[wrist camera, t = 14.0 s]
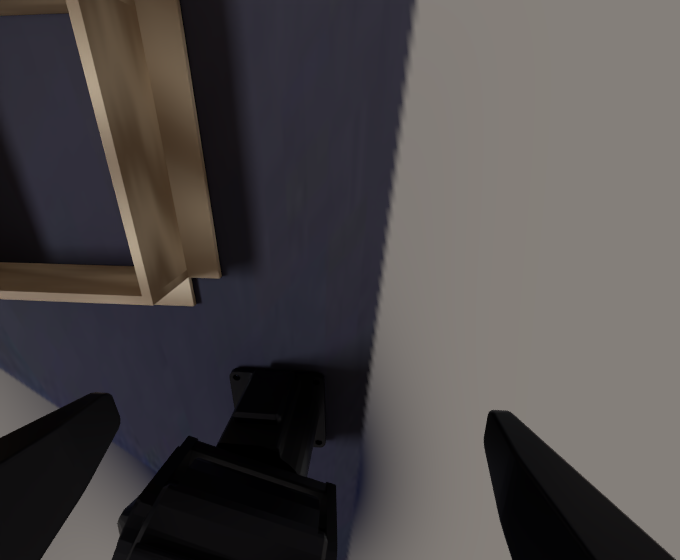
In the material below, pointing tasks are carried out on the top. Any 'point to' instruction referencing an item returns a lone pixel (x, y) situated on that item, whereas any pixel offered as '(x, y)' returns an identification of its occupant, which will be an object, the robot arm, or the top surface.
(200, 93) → the top surface
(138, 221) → the light brown piece
